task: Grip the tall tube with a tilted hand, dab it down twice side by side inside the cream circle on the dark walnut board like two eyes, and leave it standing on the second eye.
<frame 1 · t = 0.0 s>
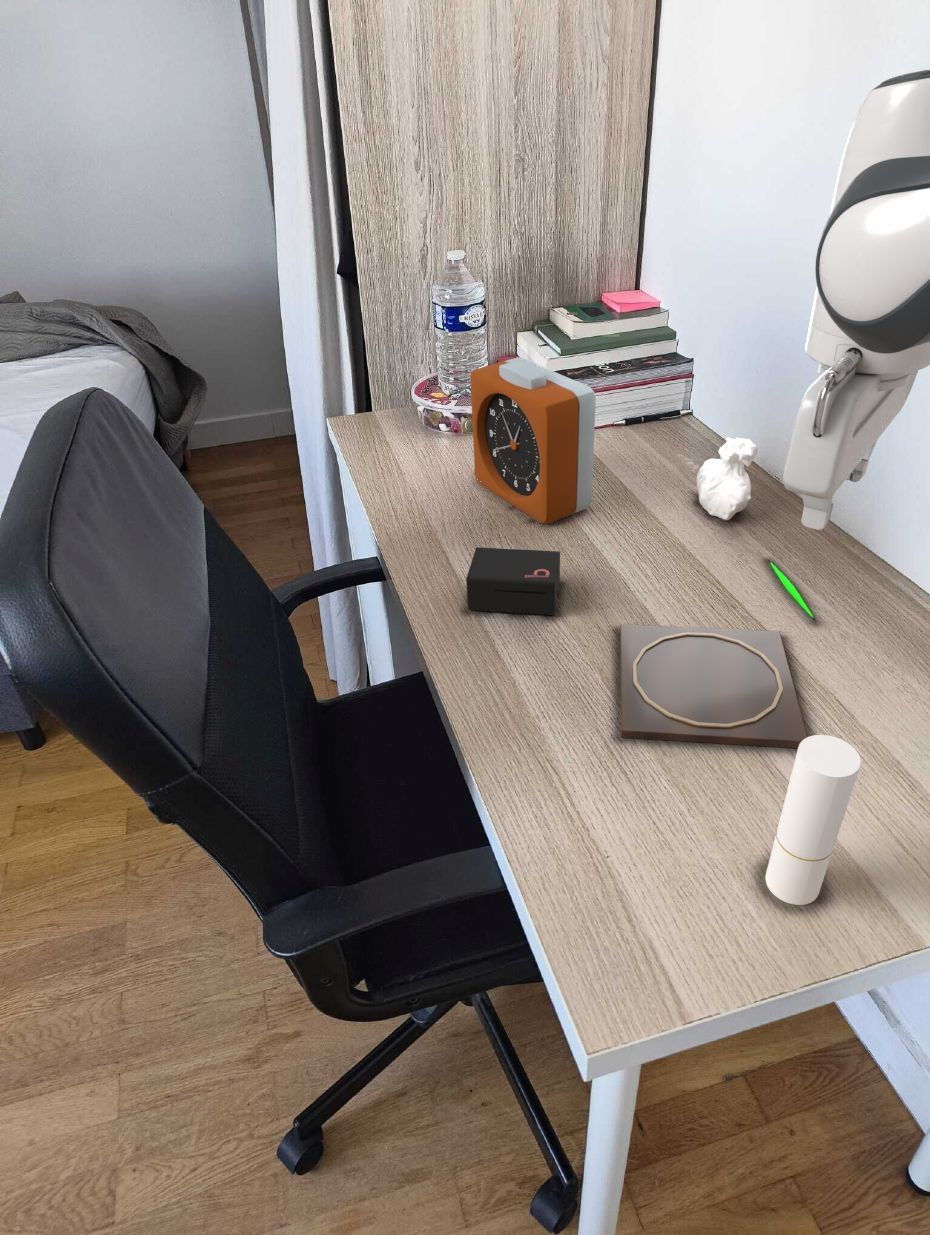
hand: (833, 500, 69), 26 cm above the table, tool pointing down, fingers open, 8 cm apart
board: (704, 684, 91), on the table
tube: (791, 884, 70), on the table
alarm clock: (531, 497, 127), on the table
white tied bag: (723, 507, 122), on the table
electronic device: (514, 598, 106), on the table
leaf: (790, 592, 104), on the table
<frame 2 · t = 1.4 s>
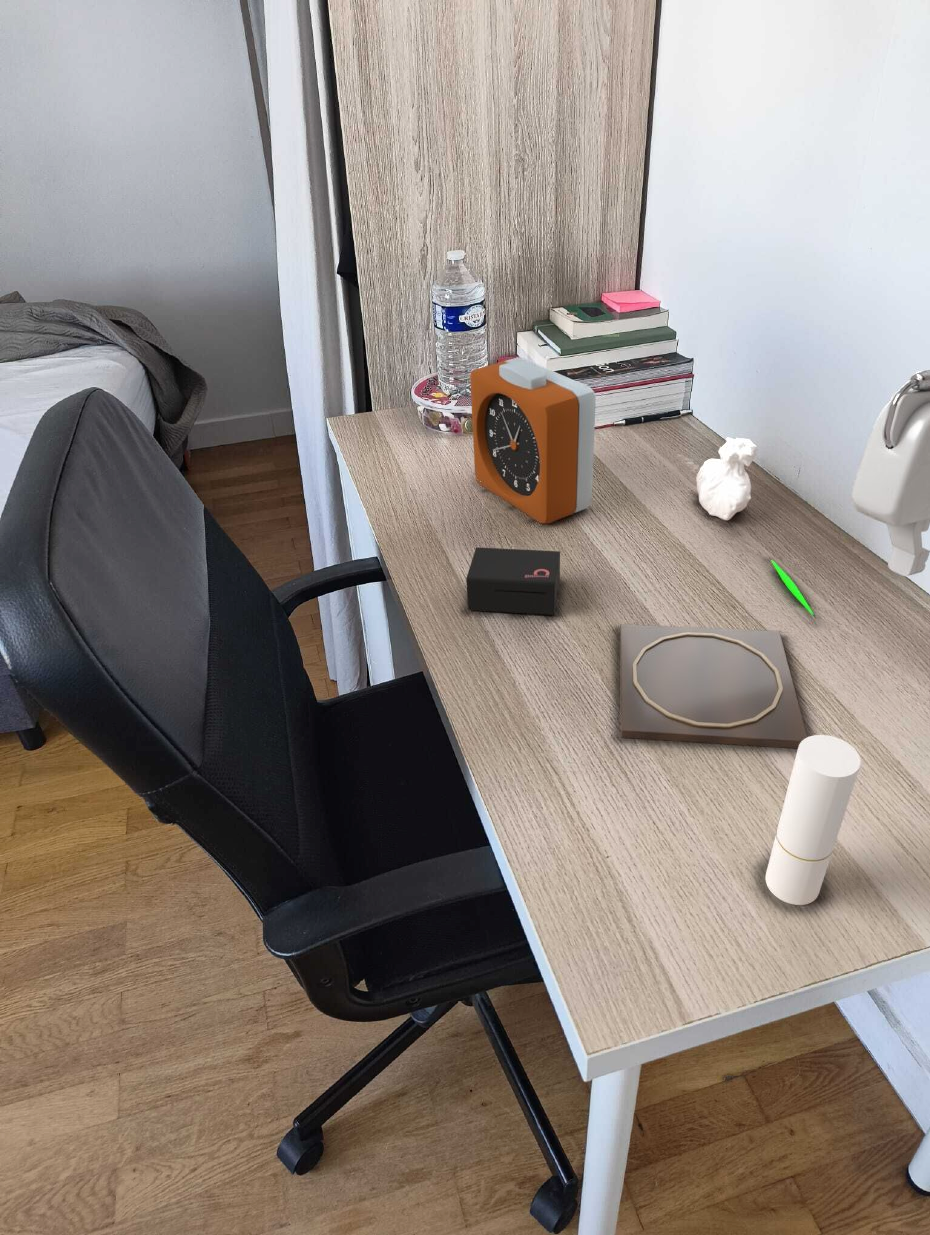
nothing on the table moved.
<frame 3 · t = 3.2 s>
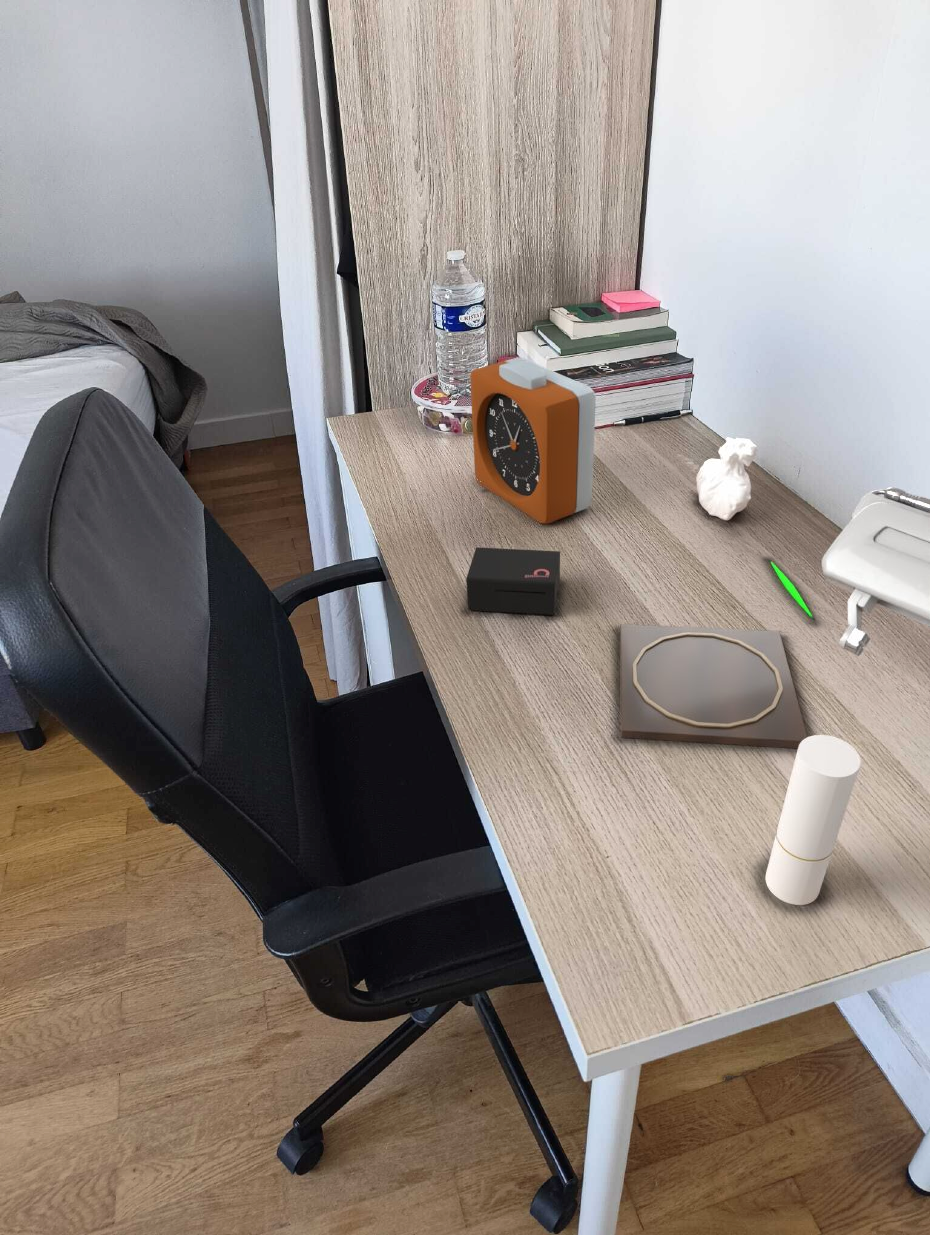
hand: (904, 677, 65), 17 cm above the table, tool tilted 45°, fingers open, 8 cm apart
nothing on the table moved.
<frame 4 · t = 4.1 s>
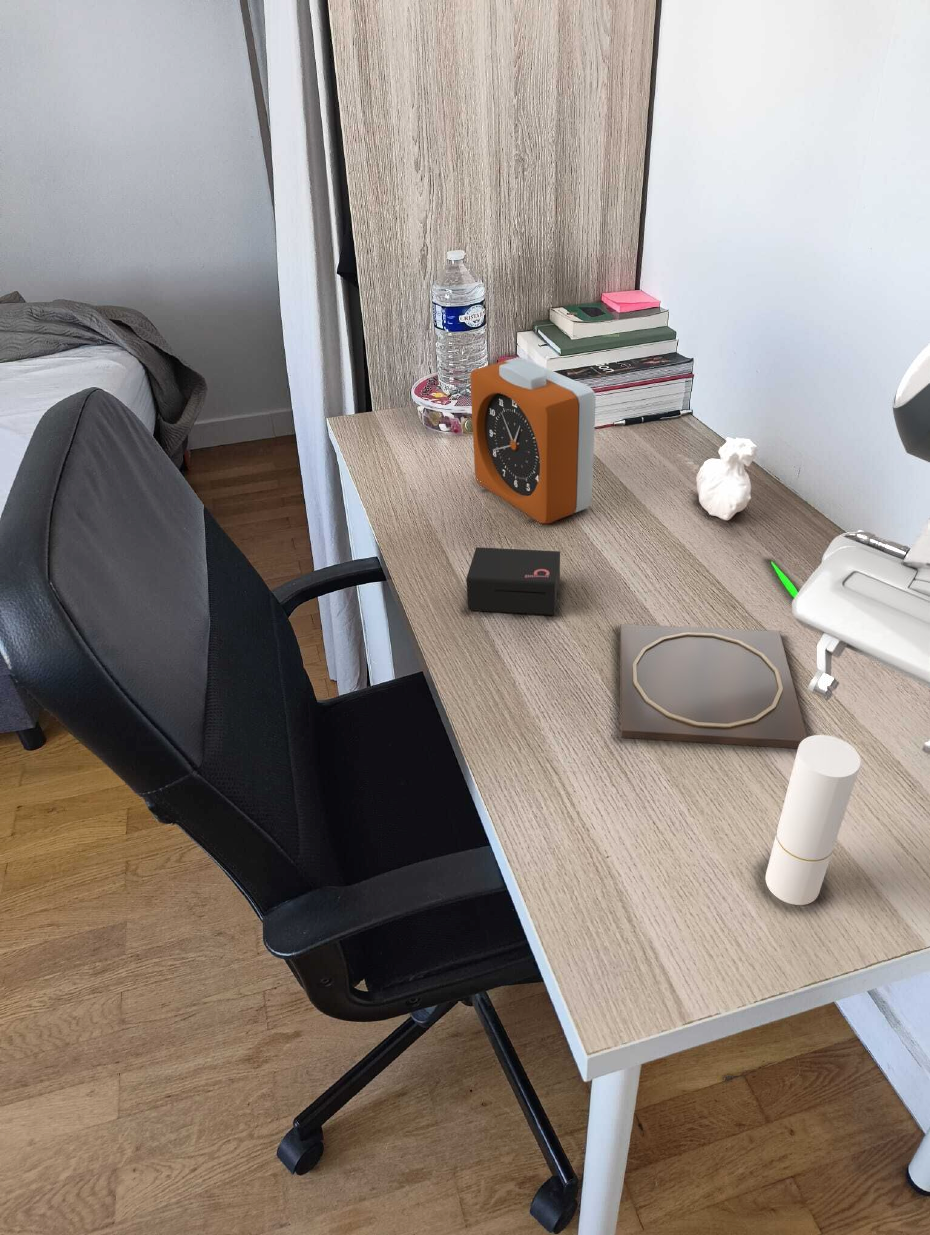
hand: (872, 724, 65), 14 cm above the table, tool tilted 45°, fingers open, 8 cm apart
nothing on the table moved.
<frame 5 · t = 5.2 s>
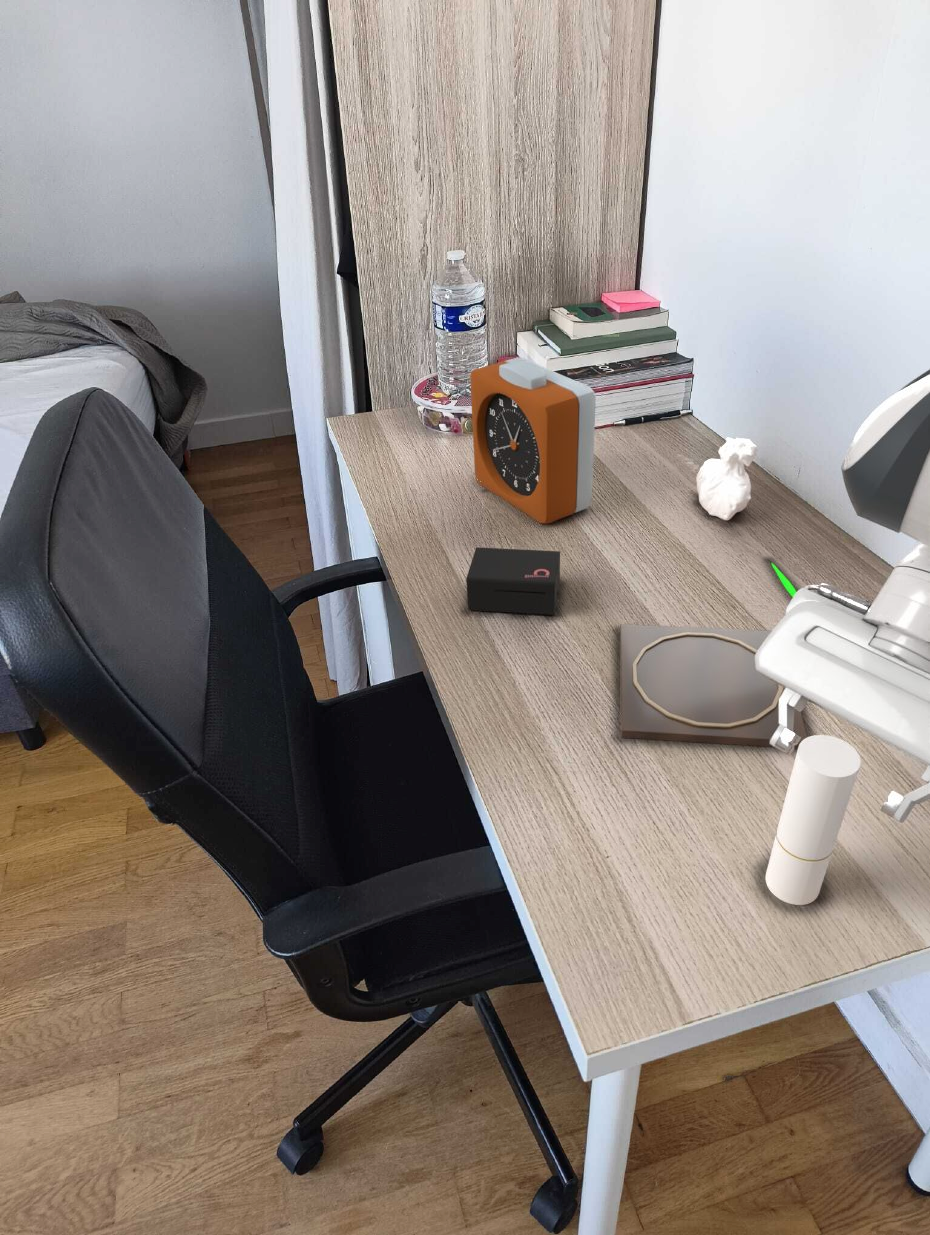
hand: (832, 781, 65), 11 cm above the table, tool tilted 45°, fingers open, 8 cm apart
nothing on the table moved.
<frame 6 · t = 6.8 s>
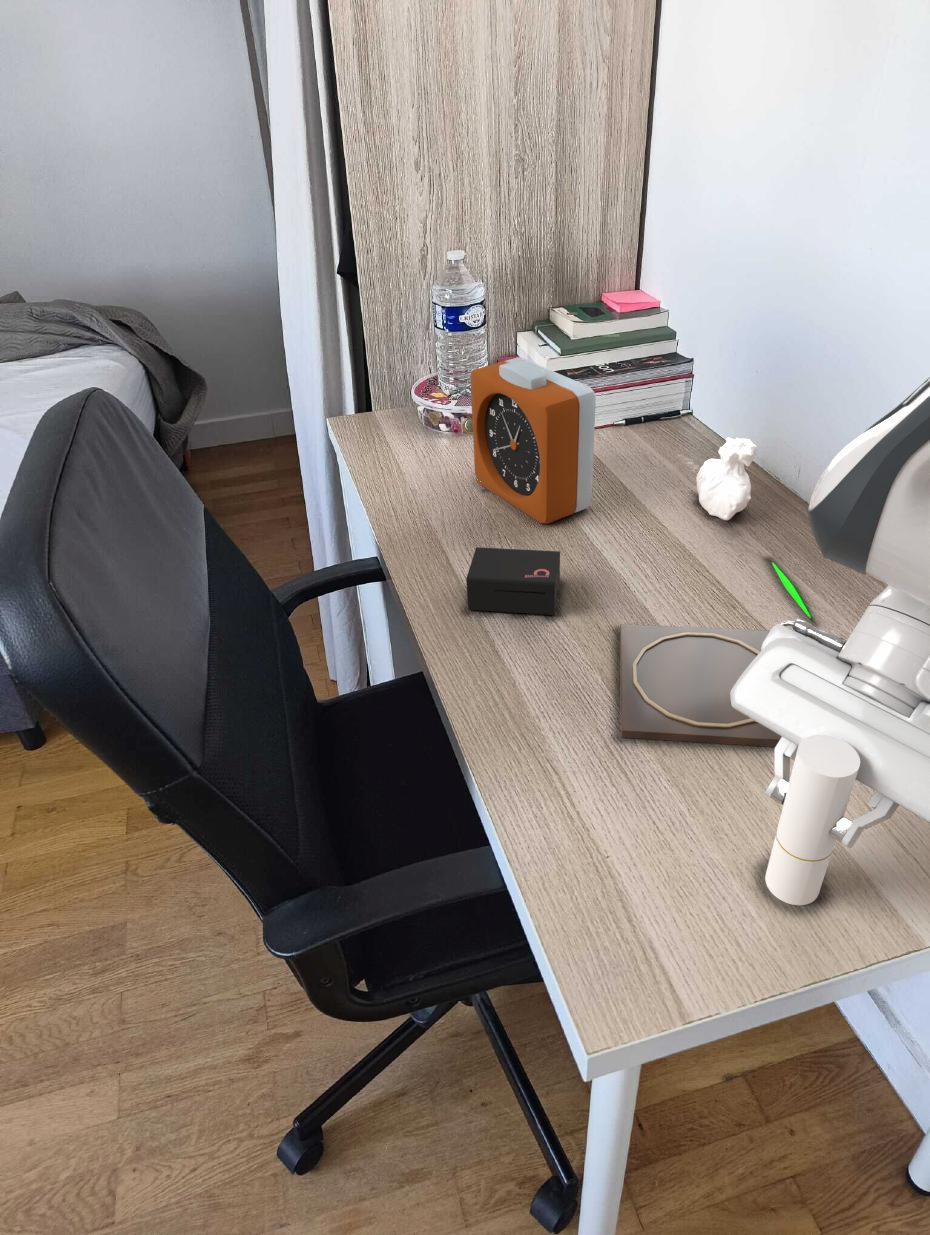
hand: (807, 820, 65), 8 cm above the table, tool tilted 45°, fingers closed on tube, 4 cm apart
tube: (791, 884, 70), on the table, touching gripper
everything else where it was.
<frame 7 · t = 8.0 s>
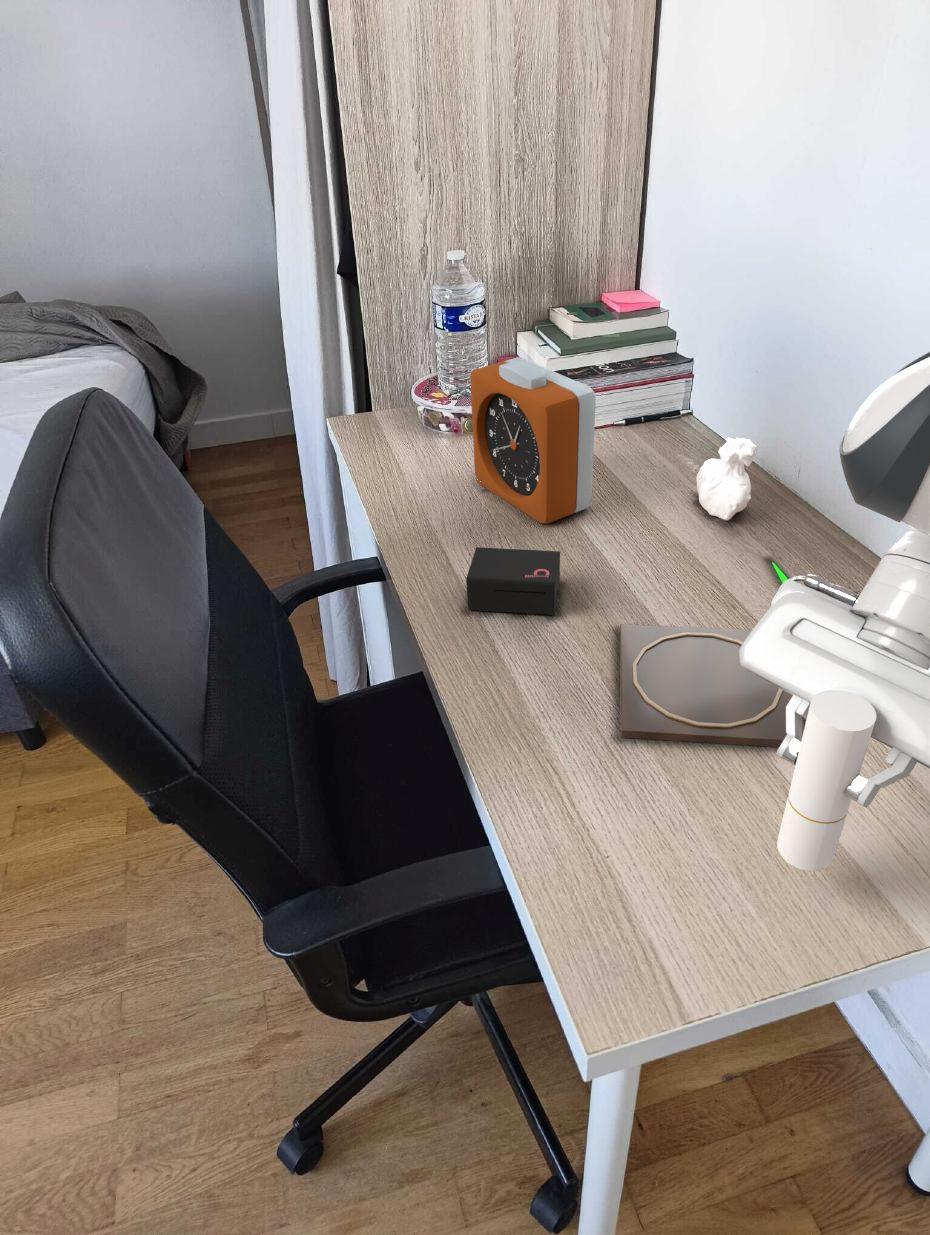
hand: (820, 780, 62), 13 cm above the table, tool tilted 45°, fingers closed on tube, 4 cm apart
tube: (804, 850, 68), point 4 cm above the table, touching gripper
everything else where it was.
when the fingers open (9 cm above the table, at t = 20.6 s): tube stays where it is, resting on board.
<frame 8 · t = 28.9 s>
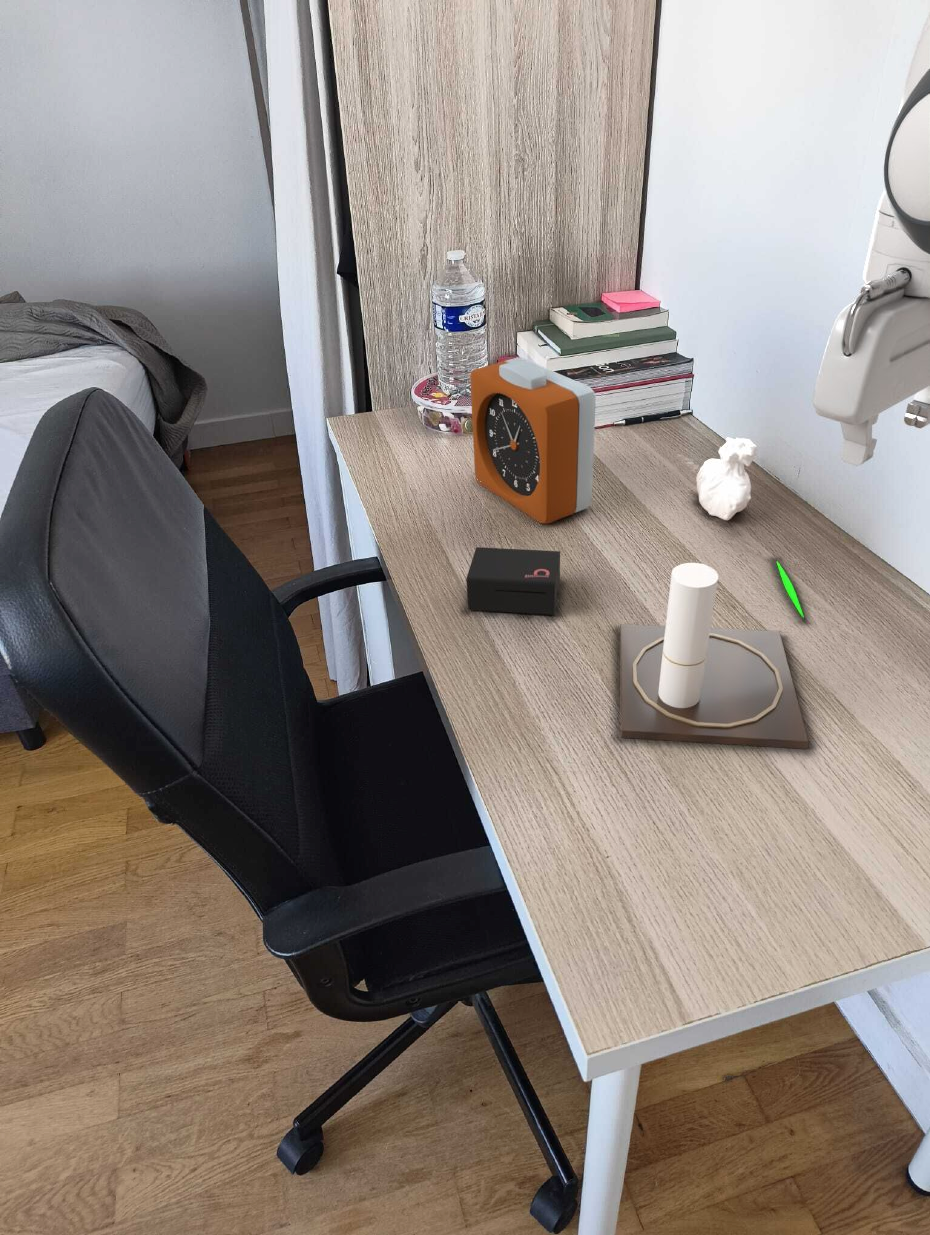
hand: (887, 441, 66), 31 cm above the table, tool pointing down, fingers open, 8 cm apart
tube: (679, 695, 88), point 1 cm above the table, touching board
everything else where it was.
at the end: tube 0.0 cm from the target spot on the board, point 0.8 cm above the board's base; tube tilted 0°; the gripper is holding nothing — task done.
